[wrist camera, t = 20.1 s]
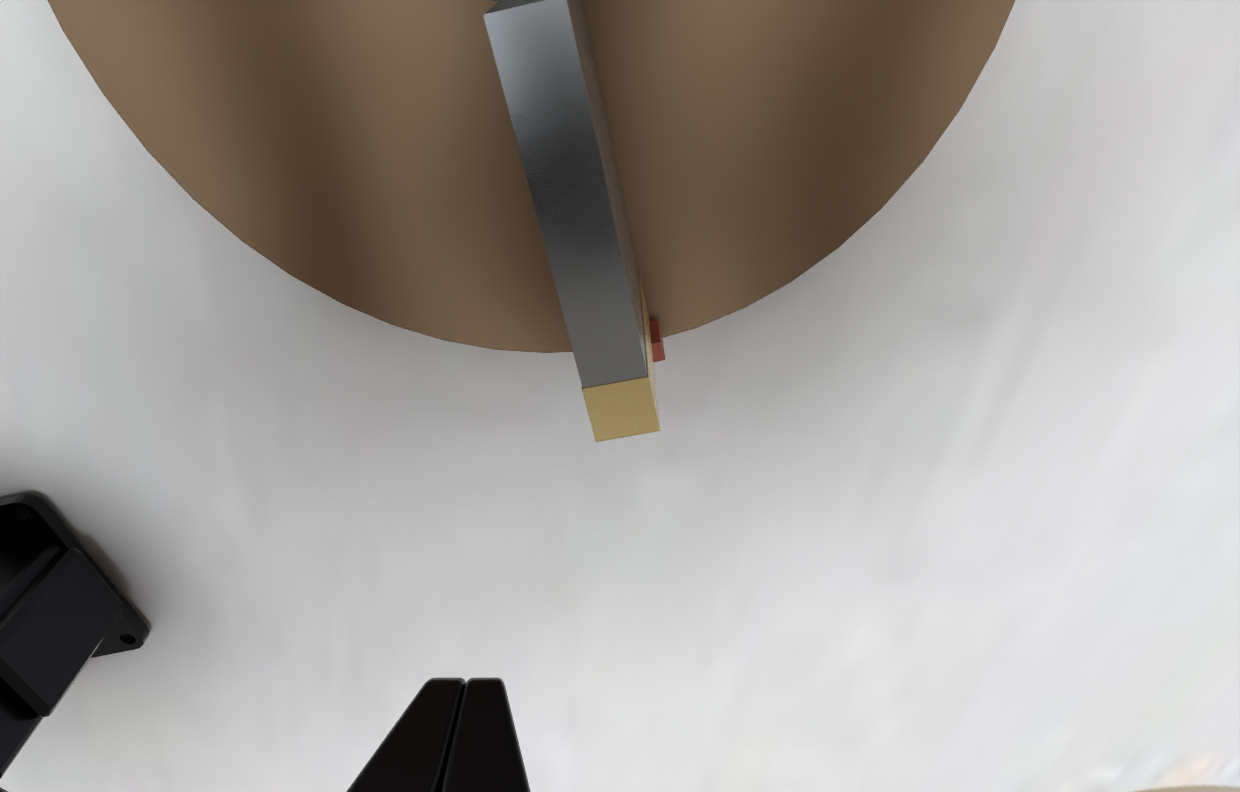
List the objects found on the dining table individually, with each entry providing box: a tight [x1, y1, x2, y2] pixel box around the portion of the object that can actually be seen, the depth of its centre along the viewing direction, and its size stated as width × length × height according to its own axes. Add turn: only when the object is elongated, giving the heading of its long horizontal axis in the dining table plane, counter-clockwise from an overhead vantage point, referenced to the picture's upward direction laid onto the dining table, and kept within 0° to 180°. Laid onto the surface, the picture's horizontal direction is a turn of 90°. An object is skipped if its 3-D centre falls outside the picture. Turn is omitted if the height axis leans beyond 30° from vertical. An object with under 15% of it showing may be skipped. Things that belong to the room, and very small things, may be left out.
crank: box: [483, 0, 660, 442], centre depth 14 cm, size 11×4×5 cm, turn 12°
